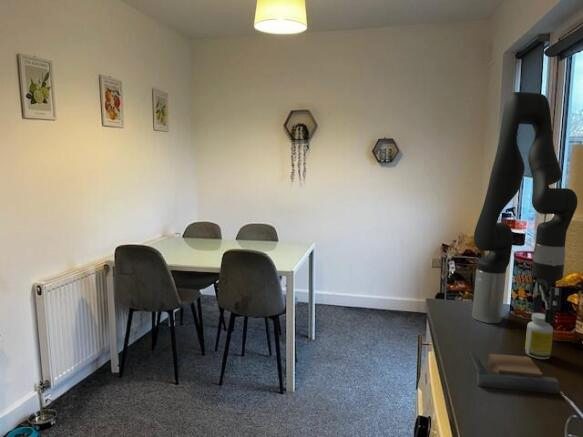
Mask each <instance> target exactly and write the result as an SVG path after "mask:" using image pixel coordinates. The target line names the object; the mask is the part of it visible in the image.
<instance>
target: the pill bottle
mask: <svg viewBox="0 0 583 437" xmlns="http://www.w3.org/2000/svg"><path fill="white" fill-rule="evenodd" d="M531 320H532V321H529V322H528V323H527V325H526V326H527V327H526V336H525V345H524V352H525V354H526V355H528V357H530V358H531V357H532V358H534V359H538V360H548V359H550V357H551V355H552V346H553V339H554V327H553V326H552V325H551V324H550V323H546V322H545V321H544V320H545V313H542V312H533V313H532V314H531Z"/></svg>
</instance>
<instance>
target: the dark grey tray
mask: <svg viewBox="0 0 583 437" xmlns="http://www.w3.org/2000/svg"><path fill="white" fill-rule="evenodd" d="M523 357H528V356H526V355H523ZM469 358H470V360H471V362H472V364H473V367H474V368H475V370H476V379H475V380H476V381H475V382H476V384H477V386H478V387H487V388H498V389H505V390H506V389H507V390H517V391H527V392H538V393H546V394H558V392H559V391H558V390H559V386H560V385H559V383H560V381H558V379H557V377H550V376H531V375H521V374H510V373H500V372H491V371H490V370H489V371H486V370H484V368H483V366H482V365H481V363H480V361H479V359H478V357H477V355H476V354H475V352H474V351H469Z"/></svg>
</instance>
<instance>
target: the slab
mask: <svg viewBox="0 0 583 437" xmlns="http://www.w3.org/2000/svg"><path fill="white" fill-rule="evenodd" d="M523 356H524V355H523ZM523 356H521V355H509V354H500V353H499V354H498V353H488V363H487V364H488V365H487V367H488V369H489V372H500V373H510V374H521V375H531V376H543V375H544V374H543V372H542V371H541V370H540V369H539V368H538V366H537V365H536V363H535V362H534V361H533V359H532V358H531V356H527V357H523ZM543 377H544V376H543Z"/></svg>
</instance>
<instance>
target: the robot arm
mask: <svg viewBox="0 0 583 437" xmlns="http://www.w3.org/2000/svg"><path fill="white" fill-rule="evenodd" d="M550 106H551V105H550V104H549V100H548V98H547V96H546V95H545V94H542V93H538V92H527V91H526V92H523V91H515V92H511V93H510V94H509V95H508V97H507V98H506V100H505V103H504V106H503V110H502V111H503V112H502V118H501V125H500V131H499V137H498V143H497V148H496V152H495V156H494V161H493V163H492V164H493V165H492V169H491V172H490V176H489V180H488V185H487V191H486V194H485V196H484V197H485V198H484V202H483V205H482V208H481V211H480V214H479V217H478V220H477V223H476V226H475V228H474V233H473V244H474V246H475V247H476V250H477V249H478V250H479V251H481V252H487V254H486V255H484V256H483V257H480V258H479V259H478V260H477V261H476V269H475V270H476V271H475V281H474V282H475V283H474V291H473V292H474V293H473V301H472V302H473V303H472V314H471V315H472V318H473V319H474V320H475V321H476V320H477V321H479V322H482V323H487V324H497V323H501V322H502V317H503V306H504V297H505V286H506V277H507V269H508V266H509V265H510V261H511V255H512V249H513V242H514V236H513V235H514V234H513V230H512V228H511V226H510V225H508V224H506V223H503V222H499V221H498V220H499V218H500V215H501V214H502V212H503V211H504V209H505V208H506V207H507V206H508V204H509V203H510V202H511V201H512V200H513V199H514V197H515V196H516V195H517V193H518V192H519V190H520V188H521V186H522V182H523V179H524V175H525V171H526V170H525V169H526V167H525V162H524V159H523V157H522V153H521V150H520V148H519V146H518V145H519V144H518V130H519V126H520V125H531V127H532V128H533V130H534V138H533V141H532V144H531V146H530V148H529V150H528V156H527V161H528V162H527V163H528V166H529V169H530V170H529V171H530V174H531V177H532V195H531V206H532V208H534V210H535V212H537V213H539V214H542V215H553V216H552V218H551V219H550V220H548V221H543V222H541V223H539V224H537V226H536V236H535V244H534V249H533V255H532V266H531V282H530V283H531V284H530V285H531V286H530V292H529V293H530V295H532V299H533V300H532V301H533V302H532V311H533V313H542V310H543V302H544V305H545V312H544V314H545V320H544V321H545V322H546V323H549V324H554V323H555V318H556V311H561V309H562V308H561V307H562V294H563V292H562V291H563V290H562V289H563V288H561V287H557V281H561V280H563V278H564V269H565V260H566V241H567V232H568V229H569V227H570V224H571V222H572V219H573V217H574V215H575V213H576V211H577V208H578V196H577V194H576V192H575V191H574V190H573V189H570V188H567V187H561V188H560V187H559V188H557V187H550V186H551V185H554V184H556V183H558V182H559V181H560V180H561V179H562V174H563V173H562V171H561V166H560V164H559V160H558V157H557V154H556V150H555V145H554V138H553V124H552V115H551V108H550Z"/></svg>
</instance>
